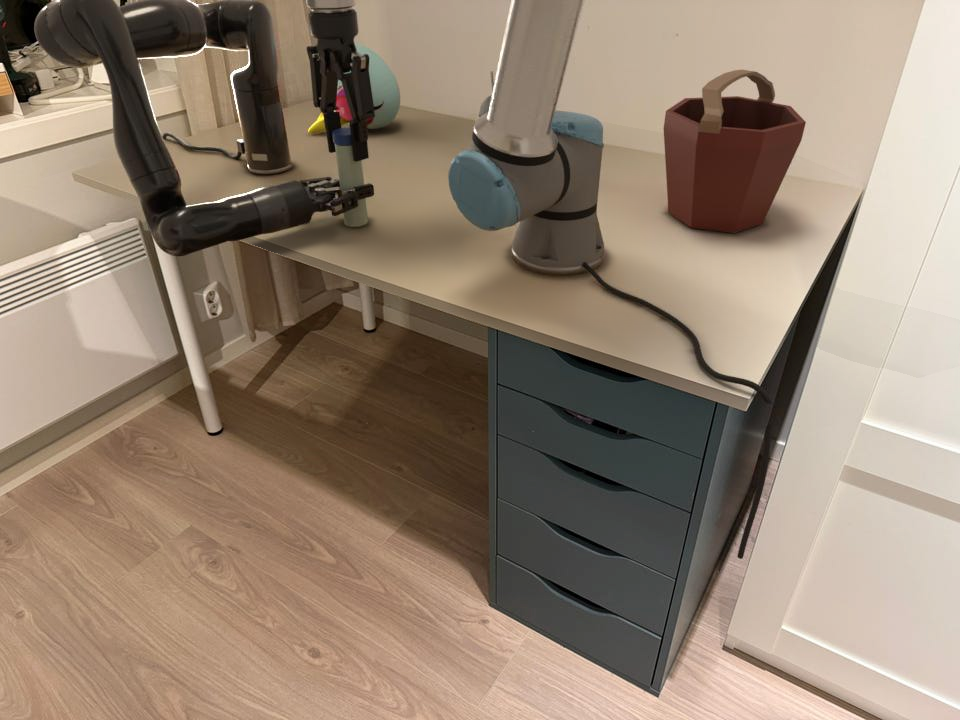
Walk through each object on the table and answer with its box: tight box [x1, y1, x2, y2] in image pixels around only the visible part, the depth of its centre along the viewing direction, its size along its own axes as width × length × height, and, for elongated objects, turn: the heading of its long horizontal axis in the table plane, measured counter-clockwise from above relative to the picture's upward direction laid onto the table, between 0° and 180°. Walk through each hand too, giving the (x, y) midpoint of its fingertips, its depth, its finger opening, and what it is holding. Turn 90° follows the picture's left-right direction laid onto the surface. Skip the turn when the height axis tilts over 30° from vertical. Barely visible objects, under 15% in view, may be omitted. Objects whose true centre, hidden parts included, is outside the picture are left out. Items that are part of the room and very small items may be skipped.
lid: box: [332, 127, 352, 145], centre depth 121 cm, size 5×5×2 cm
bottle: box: [335, 144, 369, 228], centre depth 126 cm, size 4×4×16 cm
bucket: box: [663, 69, 807, 234], centre depth 125 cm, size 24×22×25 cm
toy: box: [307, 42, 401, 134], centre depth 176 cm, size 24×24×20 cm
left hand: (365, 185), depth 128 cm, fingers closed on bottle, 4 cm apart
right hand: (348, 154), depth 123 cm, fingers open, 6 cm apart
